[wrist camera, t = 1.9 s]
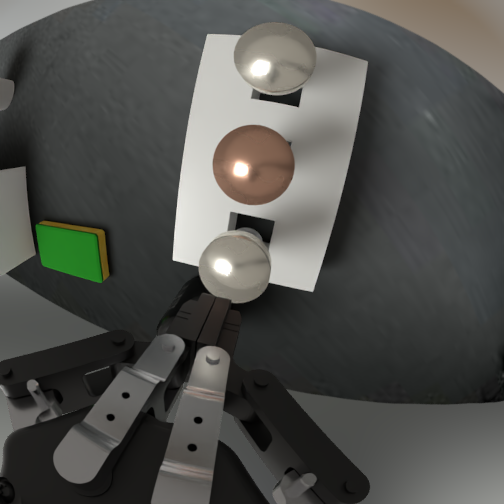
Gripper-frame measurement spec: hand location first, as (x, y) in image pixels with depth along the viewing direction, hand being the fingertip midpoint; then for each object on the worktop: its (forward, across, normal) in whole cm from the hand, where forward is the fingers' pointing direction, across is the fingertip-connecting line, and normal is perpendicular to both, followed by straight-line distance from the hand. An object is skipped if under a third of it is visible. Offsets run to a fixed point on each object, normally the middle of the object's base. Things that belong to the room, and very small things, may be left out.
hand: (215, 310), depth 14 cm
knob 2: (+10, 0, -14) cm, 17 cm away
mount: (+17, 0, -7) cm, 18 cm away
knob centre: (+10, 0, -7) cm, 12 cm away
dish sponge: (+18, +26, +9) cm, 32 cm away
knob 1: (+10, 0, 0) cm, 10 cm away
